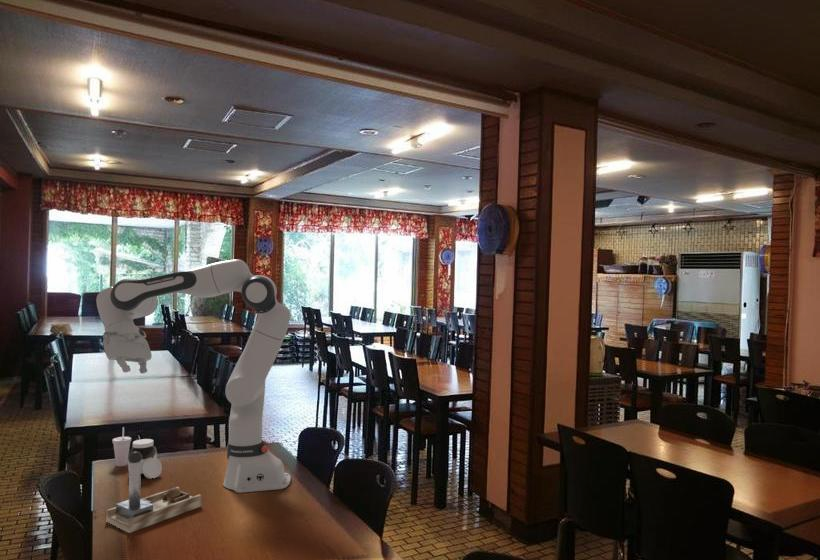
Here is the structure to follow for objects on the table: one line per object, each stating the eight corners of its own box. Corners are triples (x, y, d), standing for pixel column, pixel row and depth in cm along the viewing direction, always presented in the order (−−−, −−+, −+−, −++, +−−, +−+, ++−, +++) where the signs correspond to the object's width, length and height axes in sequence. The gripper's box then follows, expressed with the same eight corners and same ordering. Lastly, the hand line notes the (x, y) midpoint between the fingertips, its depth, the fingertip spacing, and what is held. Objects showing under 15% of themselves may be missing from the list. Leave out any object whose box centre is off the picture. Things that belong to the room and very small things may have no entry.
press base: (129, 533, 160) (129, 519, 160) (106, 522, 167) (106, 508, 167) (201, 506, 179) (201, 494, 179) (177, 497, 186) (177, 485, 186)
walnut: (182, 498, 180) (182, 485, 180) (178, 503, 176) (178, 490, 176) (168, 498, 179) (169, 485, 179) (164, 503, 175) (164, 490, 175)
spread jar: (139, 469, 212) (139, 437, 212) (169, 469, 212) (170, 438, 211) (121, 480, 200) (122, 447, 200) (154, 481, 200) (154, 447, 200)
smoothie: (123, 468, 213) (123, 430, 213) (108, 466, 214) (108, 428, 214) (134, 462, 219) (135, 425, 219) (120, 461, 220) (120, 424, 220)
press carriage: (133, 521, 162) (133, 457, 162) (115, 513, 167) (116, 451, 167) (155, 513, 168) (156, 451, 168) (138, 505, 173) (138, 445, 173)
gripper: (110, 326, 181) (125, 366, 177) (147, 333, 200) (161, 369, 197) (93, 335, 181) (107, 375, 178) (131, 341, 201) (145, 377, 197)
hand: (135, 372), depth 188 cm, fingers open, 8 cm apart
